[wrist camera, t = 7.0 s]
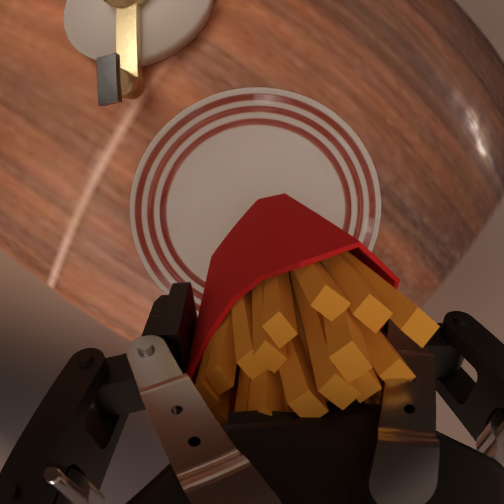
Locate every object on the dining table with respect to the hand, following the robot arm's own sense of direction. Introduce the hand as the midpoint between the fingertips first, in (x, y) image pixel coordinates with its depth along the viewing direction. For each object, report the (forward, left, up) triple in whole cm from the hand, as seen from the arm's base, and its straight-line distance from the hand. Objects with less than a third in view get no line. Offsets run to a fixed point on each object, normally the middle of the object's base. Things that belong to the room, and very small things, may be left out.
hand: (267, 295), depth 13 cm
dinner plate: (+1, -3, -23) cm, 23 cm away
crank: (-10, +18, -18) cm, 27 cm away
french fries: (0, 0, -5) cm, 5 cm away
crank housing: (-10, +23, -22) cm, 34 cm away
